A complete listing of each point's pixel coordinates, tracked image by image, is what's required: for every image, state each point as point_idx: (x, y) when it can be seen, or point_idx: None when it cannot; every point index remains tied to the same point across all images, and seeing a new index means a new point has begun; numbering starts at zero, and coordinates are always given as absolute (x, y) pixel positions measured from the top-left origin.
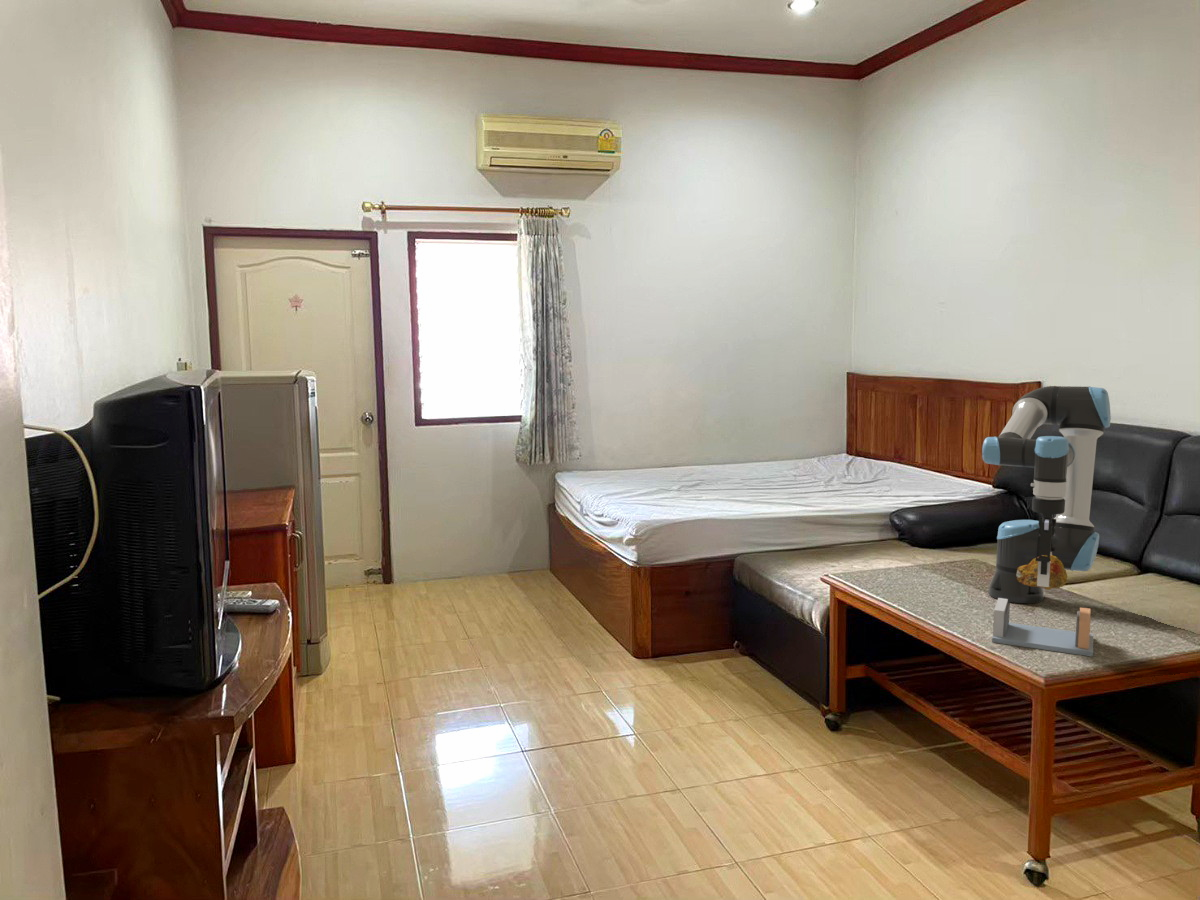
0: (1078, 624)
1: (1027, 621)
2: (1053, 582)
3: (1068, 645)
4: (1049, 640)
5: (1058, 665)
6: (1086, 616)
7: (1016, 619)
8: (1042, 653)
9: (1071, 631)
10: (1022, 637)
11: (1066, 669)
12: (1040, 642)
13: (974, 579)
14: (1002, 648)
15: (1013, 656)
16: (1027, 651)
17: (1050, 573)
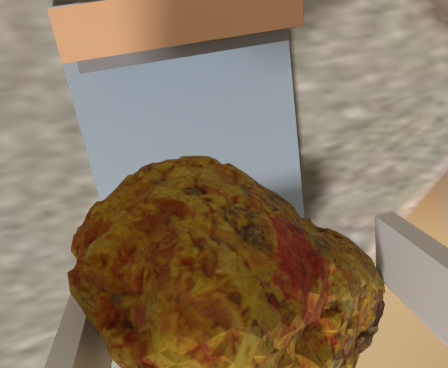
0: (288, 31)
1: (12, 251)
2: (298, 214)
3: (257, 66)
4: (239, 133)
5: (415, 64)
6: (214, 5)
7: (17, 284)
8: (329, 128)
9: (77, 88)
10: None
11: (439, 36)
12: (277, 152)
13: None
14: (343, 230)
15: (395, 188)
16: (334, 169)
17: (336, 264)
